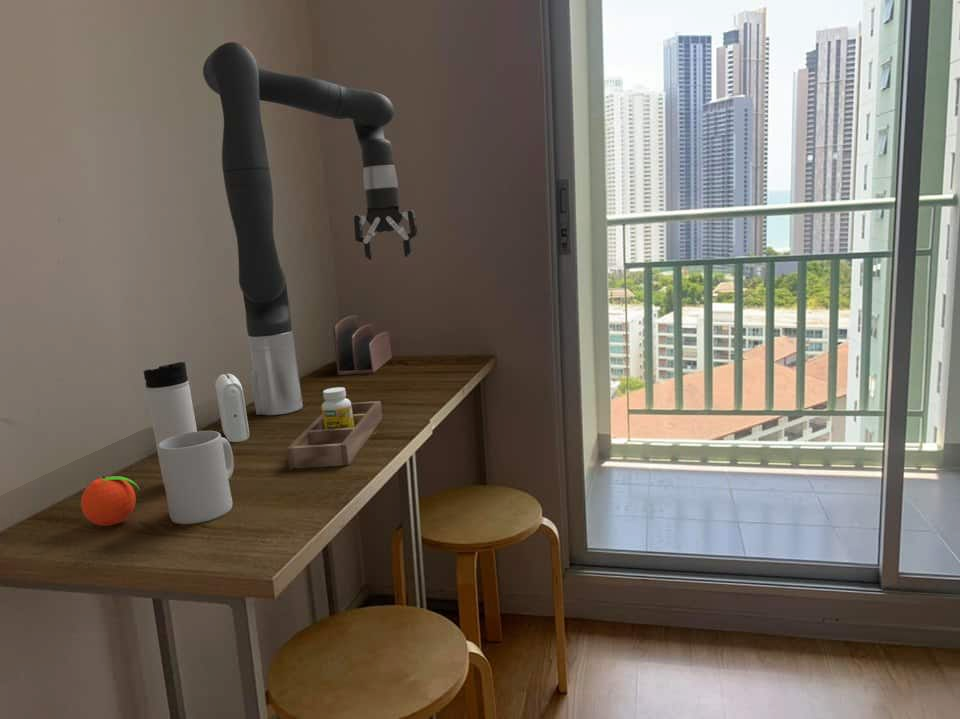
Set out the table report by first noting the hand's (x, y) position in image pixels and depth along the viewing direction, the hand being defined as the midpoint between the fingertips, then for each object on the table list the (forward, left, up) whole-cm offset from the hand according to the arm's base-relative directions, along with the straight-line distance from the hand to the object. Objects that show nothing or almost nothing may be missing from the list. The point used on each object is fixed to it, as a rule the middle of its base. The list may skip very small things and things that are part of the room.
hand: (389, 258), depth 172 cm
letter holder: (-15, +25, -30) cm, 42 cm away
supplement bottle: (-4, -44, -30) cm, 53 cm away
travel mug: (-25, -62, -30) cm, 73 cm away
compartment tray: (-4, -44, -30) cm, 53 cm away
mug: (-16, -73, -30) cm, 81 cm away
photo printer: (-27, -36, -30) cm, 54 cm away
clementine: (-28, -77, -30) cm, 87 cm away
